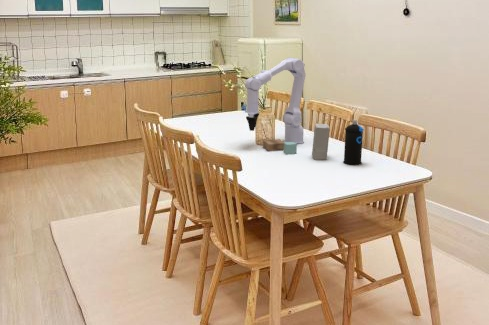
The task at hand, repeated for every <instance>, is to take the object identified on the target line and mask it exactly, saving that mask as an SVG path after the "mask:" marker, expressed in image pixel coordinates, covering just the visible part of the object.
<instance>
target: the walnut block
mask: <svg viewBox="0 0 489 325" xmlns="http://www.w3.org/2000/svg"><path fill="white" fill-rule="evenodd" d="M282 140H283V139H280V138H278V139H264V140H262V148H263V149H264V150H266V151H267V152H280V151H281V152H282V151H283V152H284V142H283V141H282Z"/></svg>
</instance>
